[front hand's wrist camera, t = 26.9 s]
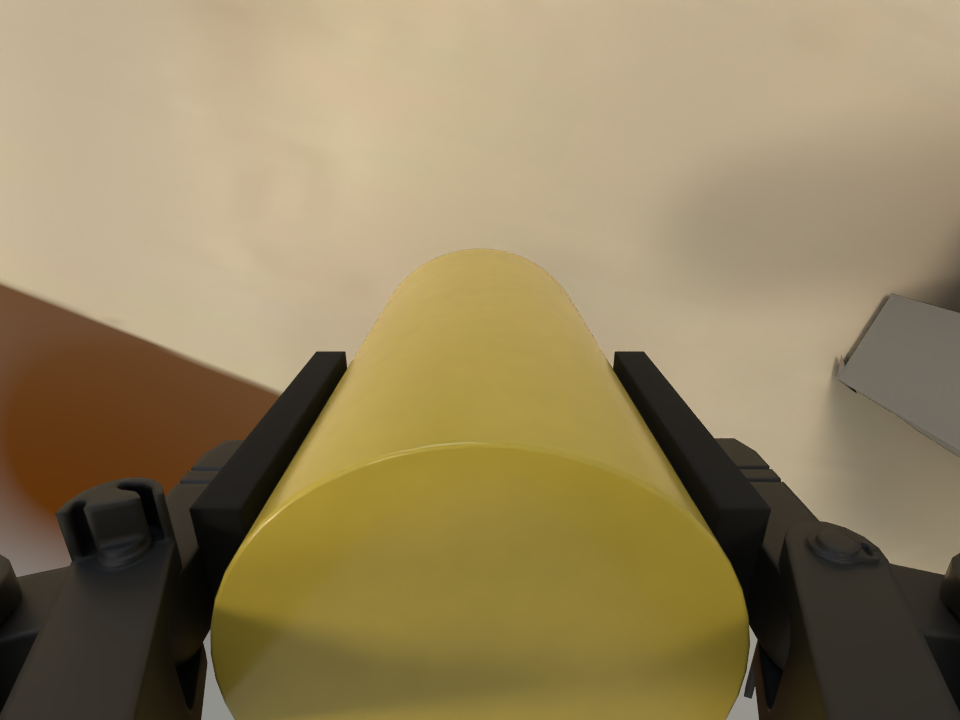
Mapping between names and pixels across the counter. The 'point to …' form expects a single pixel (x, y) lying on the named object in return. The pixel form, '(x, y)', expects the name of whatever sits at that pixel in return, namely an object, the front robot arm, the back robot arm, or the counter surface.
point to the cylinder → (480, 532)
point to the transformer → (912, 367)
